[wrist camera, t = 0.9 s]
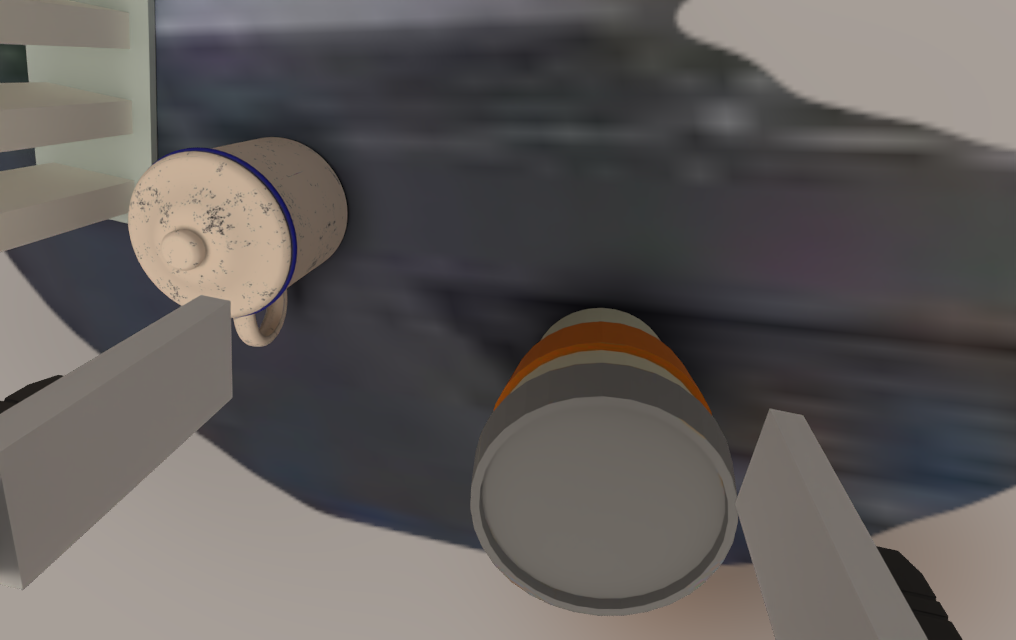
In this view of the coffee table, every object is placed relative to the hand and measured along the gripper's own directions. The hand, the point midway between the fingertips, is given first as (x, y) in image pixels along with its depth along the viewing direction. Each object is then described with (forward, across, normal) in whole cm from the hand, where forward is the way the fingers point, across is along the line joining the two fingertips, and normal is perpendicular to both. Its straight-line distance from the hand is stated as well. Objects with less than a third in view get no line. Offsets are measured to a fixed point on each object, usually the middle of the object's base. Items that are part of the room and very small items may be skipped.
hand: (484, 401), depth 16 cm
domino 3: (+25, -30, -5) cm, 39 cm away
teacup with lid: (+26, -17, -5) cm, 31 cm away
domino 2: (+25, -30, 0) cm, 39 cm away
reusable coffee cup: (+26, +5, -11) cm, 28 cm away
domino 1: (+25, -29, +5) cm, 39 cm away
